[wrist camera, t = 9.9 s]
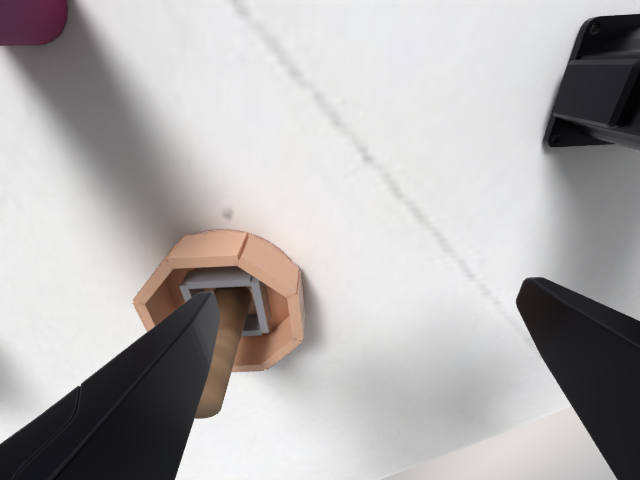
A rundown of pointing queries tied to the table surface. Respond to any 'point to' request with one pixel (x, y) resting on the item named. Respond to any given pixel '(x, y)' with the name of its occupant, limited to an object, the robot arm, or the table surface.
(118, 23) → the table surface
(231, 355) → the wooden dowel rod
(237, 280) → the tan polygonal bowl
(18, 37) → the cup
